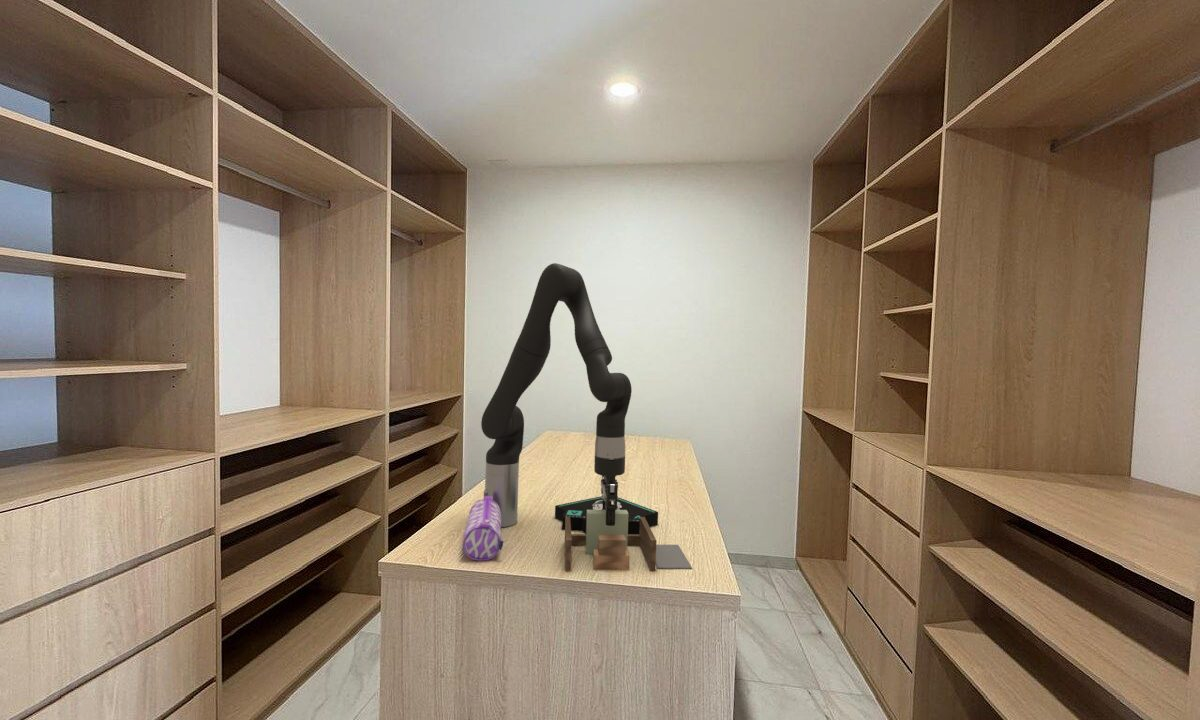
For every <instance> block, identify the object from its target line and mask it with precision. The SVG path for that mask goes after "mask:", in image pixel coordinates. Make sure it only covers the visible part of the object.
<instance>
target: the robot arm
mask: <svg viewBox="0 0 1200 720" xmlns="http://www.w3.org/2000/svg"><path fill="white" fill-rule="evenodd" d="M587 290H588V289H587V287H586V284H585V281H584V278H583V276H582V274H581V273H580V272H579V271H578V270H576V269H575V268H572V267H569V266H565V265H563V264H560V263H556V262H555V263H554V262H553V263H550V264H549V265H547V266H546V267H545V268H544V269H543V271H542V272H541V274H540V277H539V279H538V282H537V285H536V288H535V292H534V295H533V298H532V301H531V305H530V308H529V310H528V313H527V316H526V319H525V321H524V322H523V326H522V329H521V331H520V333H519V335H518V339H517V340H516V343H515V345H514V347H513V350H512V352H511V354H510V357H509V360H508V361H507V362H508V363H507V365H506V366H505V369H504V371H503V374H502V375H501V378H500V381H499V383H498V385H497V387H496V388H495V389H496V390H495V392H494V393H493V395H492V397H491V399H490V400H489V402H488V404H487V405H486V408H485V409H484V412H483V414H482V417H481V421H480V425H481V426H480V427H481V430H482V433H483V434H484V436H485V437H486V438H488V439H490V440H494V443H493V445H492V446H491V447H490V448H489V449H488V450H487V451H486V454H485V477H484V478H485V479H484V481H485V484H484V490H483V497H484V496H493V501H495V502H496V503H497V504H498V506H499V508H500V511H501V528H505V527H511V526H514V525H516V524H517V523H518V511H519V510H518V507H519V506H518V503H519V477H520V475H519V473H520V472H519V471H520V469H519V468H520V456H521V453H522V451H523V447H524V445H523V444H524V435H525V434H524V432H525V431H524V430H525V419H524V418H525V417H524V414H523V412H522V410H521V409H520V407H518V406H517V405H518V401H519V399H520V398H521V397H522V395H523V394H524V393H525V391H526V390H527V389H529V387H530V386H531V385H532V383H533V382H534V381H535V380H536V378H537V377H538V376H539V375H540V373H541V371H542V370H543V367H544V366H545V363H546V361H547V358H548V356H549V354H550V350H551V342H552V338H551V336H552V335H551V321H552V316H553V315H554V311H555V309H556V306H557V305H558V303H559V302H562V303H564V304H565V305H566V307H567V309H568V310H569V312H570V314H571V316H572V320H573V324H574V341H575V344H576V346H577V348H578V351H579V354H580V356H581V357H582V360H583V362H584V364H585V368H586V376H587V382H588V387H589V389H590V392H591V394H592V396H593V397H594V398H595V399H596V400H597V401H599V402H601V403H606V405H605V408H604V409H603V410H602V411H600V412H599V413H598V414H597V416H596V422H595V423H596V425H595V426H596V429H595V431H596V432H595V434H596V435H595V443H594V467H593V468H594V469H593V470H594V473H595V474H597V475H599V476H601V479H600V493H601V496H602V499H603V506H602V510H606V525H607V526H614V525H615V510H617V508H618V506H617V499H618V497H619V495H618V490H619V482H618V480H617V479H616V477H617V476H622V475H624V474H625V472H626V437H625V436H626V435H625V433H626V416H627V414H628V409H629V405H630V401H631V398H632V384H631V381H630V378H629V377H628V376H627V375H626V374H625V373H623V372H610V371H609V368H608V366H609V365H610V364H611V363H612V360H613V356H612V352H611V351H610V349H609V345H608V344H607V342H606V340H605V338H604V336H603V334H602V332H601V330H600V327H599V325H598V322H597V320H596V316H595V314H594V310H593V307H592V303H591V301H590V297H589V294H588V291H587ZM611 501H613V503H614V504H611Z"/></svg>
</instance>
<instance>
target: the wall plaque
mask: <svg viewBox="0 0 1200 720" xmlns="http://www.w3.org/2000/svg"><path fill="white" fill-rule="evenodd" d="M611 504H614V503H613V501H611ZM602 506H603V499H602V495H601V496H595V497H590V498H586V499H581V500H575V501H572V502H566V503H561V504H557V505H554V519H555V520H558V521H560V522H561V531H565V516H568V517H570V522H571V532H581V533H583V534H586V522H587V510H602ZM617 506H618V508H617V510H627V512H628V534H639V530H640V517H645V519H646V521H647V523H648V525H649V527H650V528H653V527H656V526H658V525H659V524H658V523H659V511H656V510H654V509H651V508H648V507H645V506H643V505H641V504H638V503H635V502H632V501H630V500H626V499H624V498H622V497H619V496H618V499H617Z"/></svg>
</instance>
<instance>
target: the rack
mask: <svg viewBox="0 0 1200 720" xmlns="http://www.w3.org/2000/svg"><path fill="white" fill-rule="evenodd" d="M563 545H564V568H565V569H564V570H565V572H571V570H572V547H573V546H582V547H583V546H585V547H586V533H572V531H571V522H570V517H568V516H565V530H564V544H563ZM656 545H657V539H656V537H655V535H654V532H653V531H652V529H651V527H649V525H648V523H647V521H646V519H645V517H640V530H639V534H628V541H627V547H629V546H631V547H632V546H633V547H637V546H638V547H639V548H640V549H641V552H642V555H643V556H644V557H643V558H644V560H645V562H646V564H647V567H648V569H649V572H656V568H657V566H656Z"/></svg>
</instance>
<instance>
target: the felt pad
mask: <svg viewBox="0 0 1200 720" xmlns="http://www.w3.org/2000/svg"><path fill="white" fill-rule="evenodd" d="M679 545H680V544H656V568H657V570H676V569H677V570H692V569H693V567H692V565H691V563H690V562H689V560H688V558H687V556H685V553H684V551H683V550H682V548H681V547H680V546H679Z"/></svg>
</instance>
